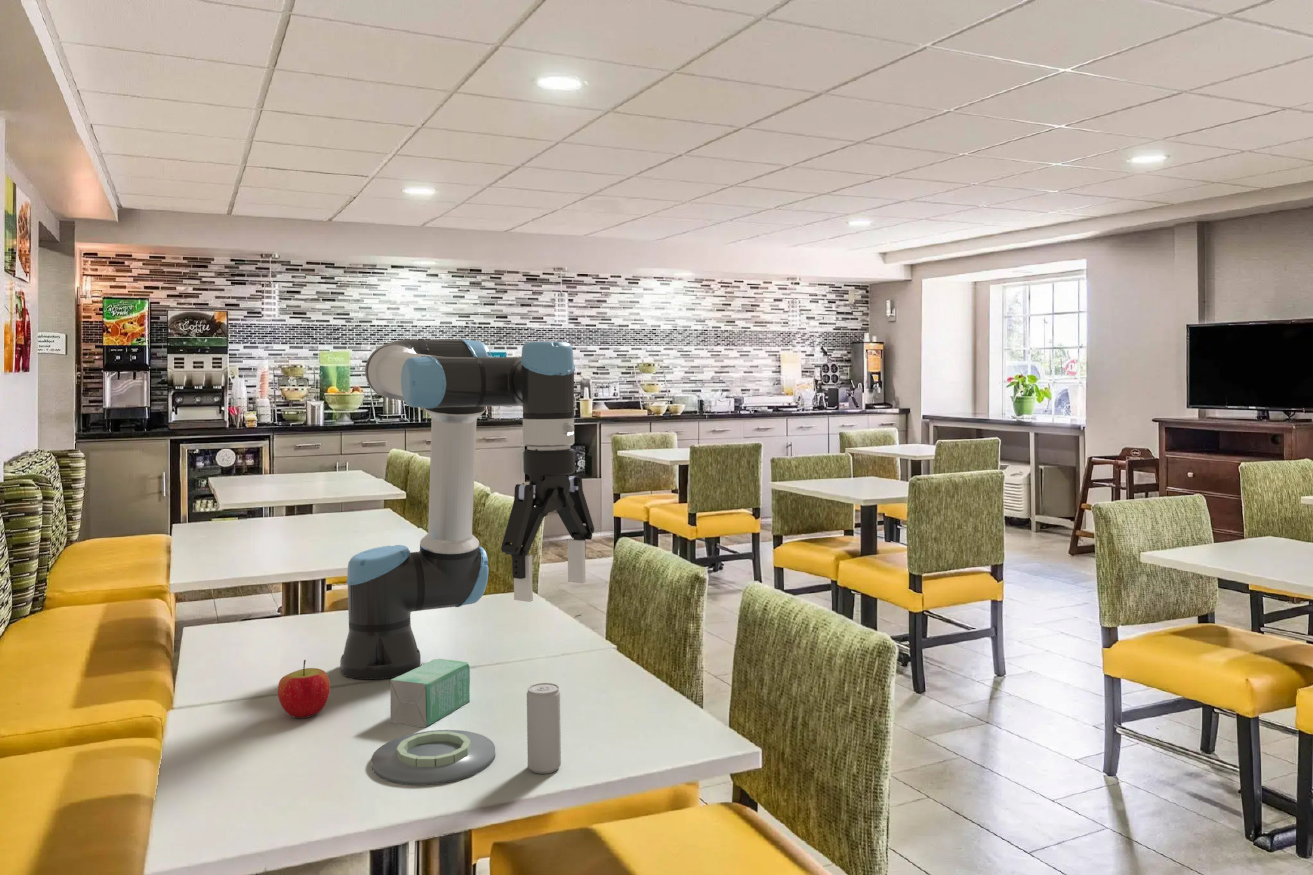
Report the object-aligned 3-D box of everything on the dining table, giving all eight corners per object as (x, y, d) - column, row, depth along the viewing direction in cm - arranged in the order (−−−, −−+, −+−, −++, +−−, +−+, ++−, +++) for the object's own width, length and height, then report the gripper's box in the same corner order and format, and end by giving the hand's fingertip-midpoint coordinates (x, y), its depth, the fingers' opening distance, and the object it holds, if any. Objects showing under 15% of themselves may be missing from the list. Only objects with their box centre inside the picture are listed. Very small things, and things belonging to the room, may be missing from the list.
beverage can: (528, 762, 142) (527, 683, 141) (561, 760, 142) (560, 682, 141) (526, 775, 137) (525, 694, 136) (560, 774, 137) (559, 693, 136)
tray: (345, 768, 139) (344, 753, 139) (431, 728, 155) (431, 715, 155) (437, 795, 130) (437, 779, 130) (519, 749, 146) (519, 735, 146)
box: (472, 701, 168) (470, 660, 167) (427, 729, 155) (426, 684, 155) (436, 697, 170) (435, 656, 170) (389, 723, 158) (388, 679, 157)
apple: (281, 727, 156) (279, 667, 155) (275, 711, 163) (274, 654, 162) (334, 719, 159) (332, 660, 159) (326, 703, 167) (324, 647, 166)
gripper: (517, 454, 127) (520, 612, 128) (615, 442, 149) (616, 577, 150) (473, 452, 130) (476, 606, 132) (575, 441, 152) (576, 573, 153)
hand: (551, 591), depth 141 cm, fingers open, 13 cm apart
